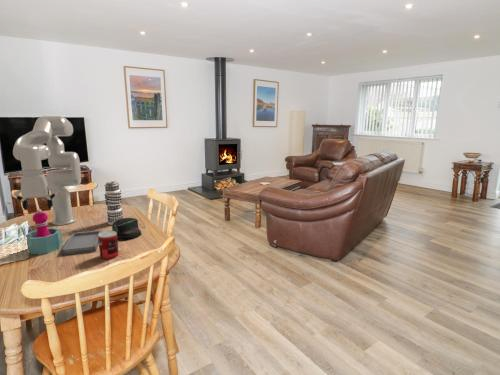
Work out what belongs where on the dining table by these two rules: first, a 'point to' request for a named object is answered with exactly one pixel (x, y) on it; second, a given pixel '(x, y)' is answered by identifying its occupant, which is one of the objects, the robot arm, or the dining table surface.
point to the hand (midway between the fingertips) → (38, 208)
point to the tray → (81, 243)
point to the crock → (44, 242)
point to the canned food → (108, 244)
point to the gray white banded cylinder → (113, 202)
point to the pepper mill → (41, 224)
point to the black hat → (126, 229)
